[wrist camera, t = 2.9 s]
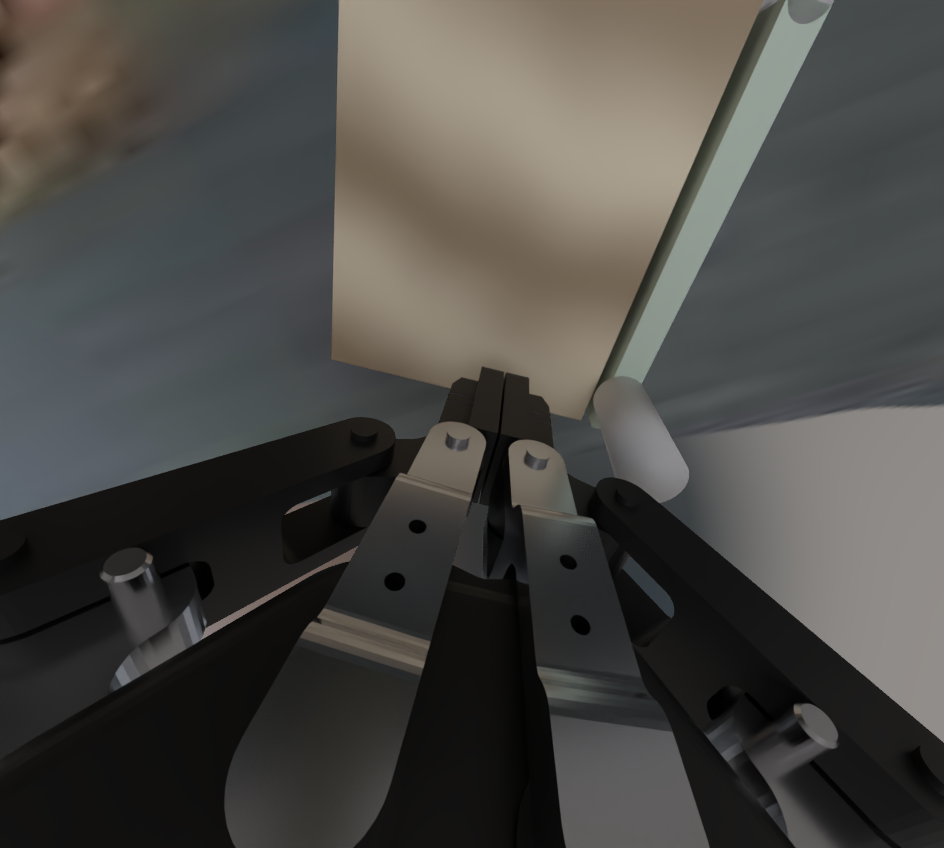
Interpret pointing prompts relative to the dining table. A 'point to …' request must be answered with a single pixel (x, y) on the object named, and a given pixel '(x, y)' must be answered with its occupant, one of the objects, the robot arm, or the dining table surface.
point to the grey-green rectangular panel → (696, 242)
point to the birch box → (513, 177)
